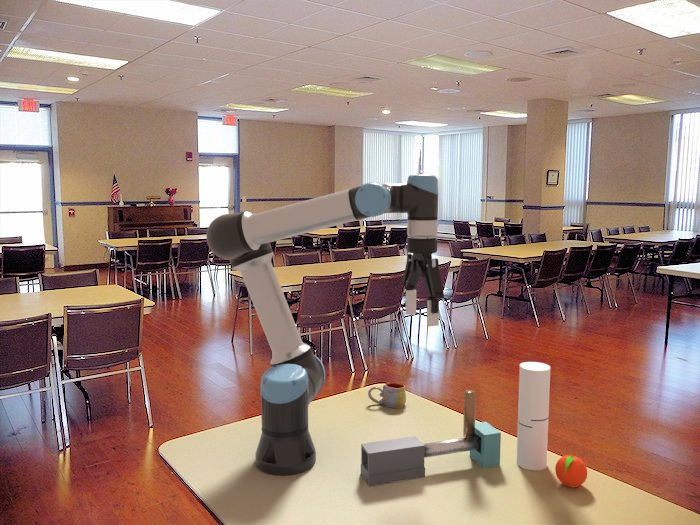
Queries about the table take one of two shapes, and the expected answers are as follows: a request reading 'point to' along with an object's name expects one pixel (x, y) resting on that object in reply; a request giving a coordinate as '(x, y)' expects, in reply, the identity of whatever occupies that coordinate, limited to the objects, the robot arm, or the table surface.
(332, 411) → the table surface
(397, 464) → the outer sleeve
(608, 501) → the table surface
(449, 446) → the sliding bolt
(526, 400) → the cylindrical container
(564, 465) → the clementine
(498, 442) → the end socket
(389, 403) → the mug
